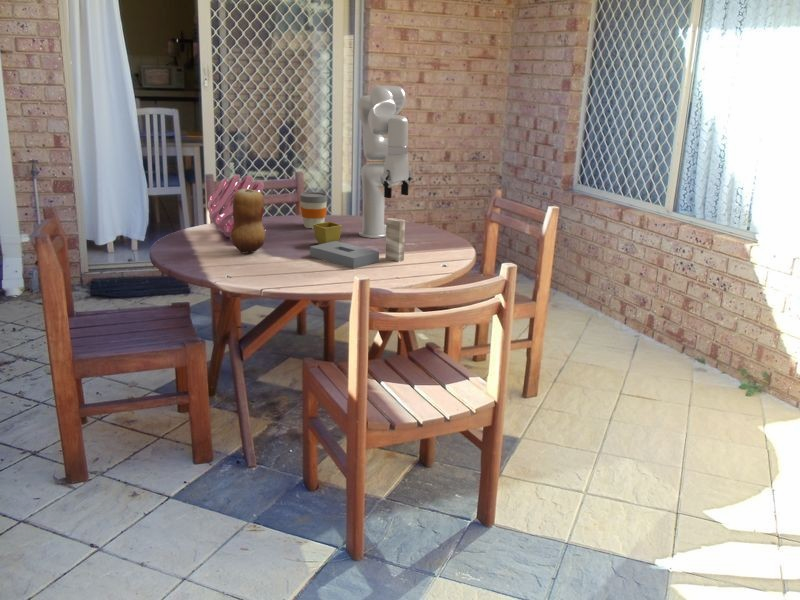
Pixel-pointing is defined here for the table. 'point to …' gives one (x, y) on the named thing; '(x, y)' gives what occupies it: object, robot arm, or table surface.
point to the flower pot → (327, 232)
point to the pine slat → (395, 239)
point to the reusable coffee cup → (313, 208)
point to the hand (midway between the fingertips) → (396, 196)
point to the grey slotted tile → (344, 254)
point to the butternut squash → (248, 220)
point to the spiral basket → (228, 209)
